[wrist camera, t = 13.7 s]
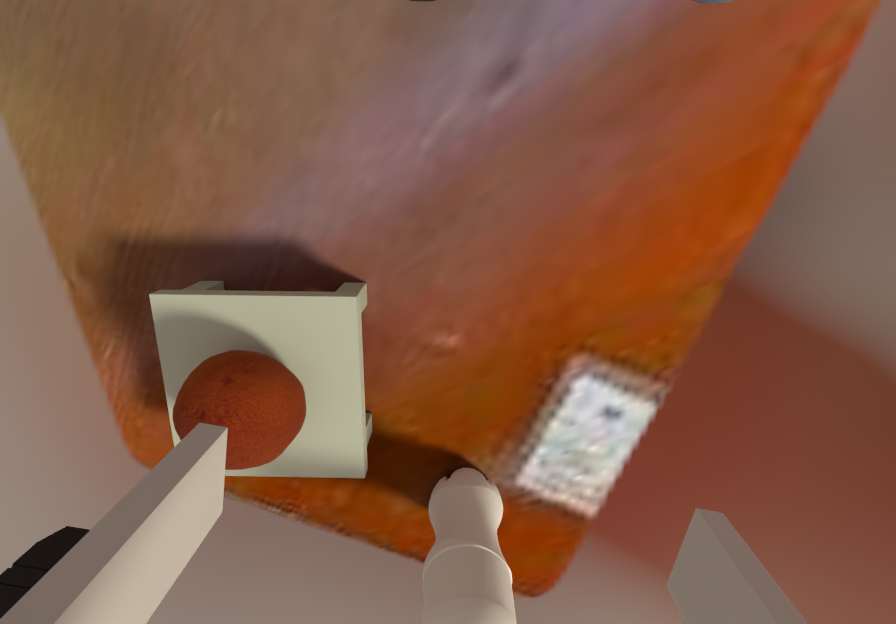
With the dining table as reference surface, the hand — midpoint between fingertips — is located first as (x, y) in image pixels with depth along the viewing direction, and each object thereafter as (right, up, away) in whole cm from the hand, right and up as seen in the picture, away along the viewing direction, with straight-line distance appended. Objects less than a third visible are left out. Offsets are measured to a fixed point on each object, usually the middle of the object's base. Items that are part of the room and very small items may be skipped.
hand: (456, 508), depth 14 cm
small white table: (-15, +1, +33) cm, 36 cm away
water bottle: (+2, -13, +37) cm, 39 cm away
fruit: (-15, -1, +27) cm, 31 cm away
